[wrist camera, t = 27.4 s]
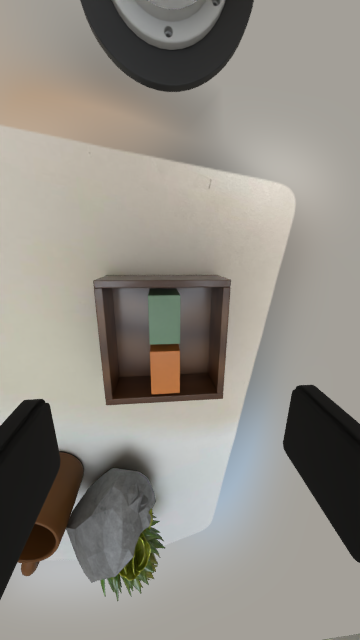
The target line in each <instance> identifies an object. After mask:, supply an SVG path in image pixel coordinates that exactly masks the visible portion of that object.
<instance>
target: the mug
mask: <svg viewBox="0 0 360 640" xmlns="http://www.w3.org/2000/svg"><path fill="white" fill-rule="evenodd" d="M59 454H60V460H61V462H60V468H59V471H58V474H57V476H56V478H55V480H54V482H53V485H52V487H51V489H50V491H49V493H48V496H47V498H46V500H45V502H44V504H43V507H42V509H41V511H40V513H39V515H38V518H37V520H36V522H35V524H34V527H33V529H32V531H31V533H30V535H29V538H28V540H27V542H26V544H25V546H24V549H23V551H22V553H21V555H20V557H19V560H18V562H19V563H22V565H21V571H22V574H23V575H24V576H30V575H31V574H33V572H34V571H35V570H36V568H37V566H38V564H39V562H40V561H42V560H44V559H46V558H48V557H50V556H51V555H52V554H53V553H54V552H55V551H56V550H57V548H58V546H59V544H60V542H61V539H62V537H63V534H64V532H65V529H66V527H67V524H68V521H69V518H70V515H71V512H72V509H73V506H74V503H75V500H76V497H77V494H78V491H79V488H80V485H81V482H82V478H83V466H82V464H81V462H80V461H79V460H78V459H77V458H76V457H75V456H73V455H71V454H68V453H64V452H59Z"/></svg>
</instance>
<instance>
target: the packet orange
mask: <svg viewBox="0 0 360 640" xmlns="http://www.w3.org/2000/svg"><path fill="white" fill-rule="evenodd" d="M150 369H151V394H168V393H180V349H179V344H155V345H150Z"/></svg>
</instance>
